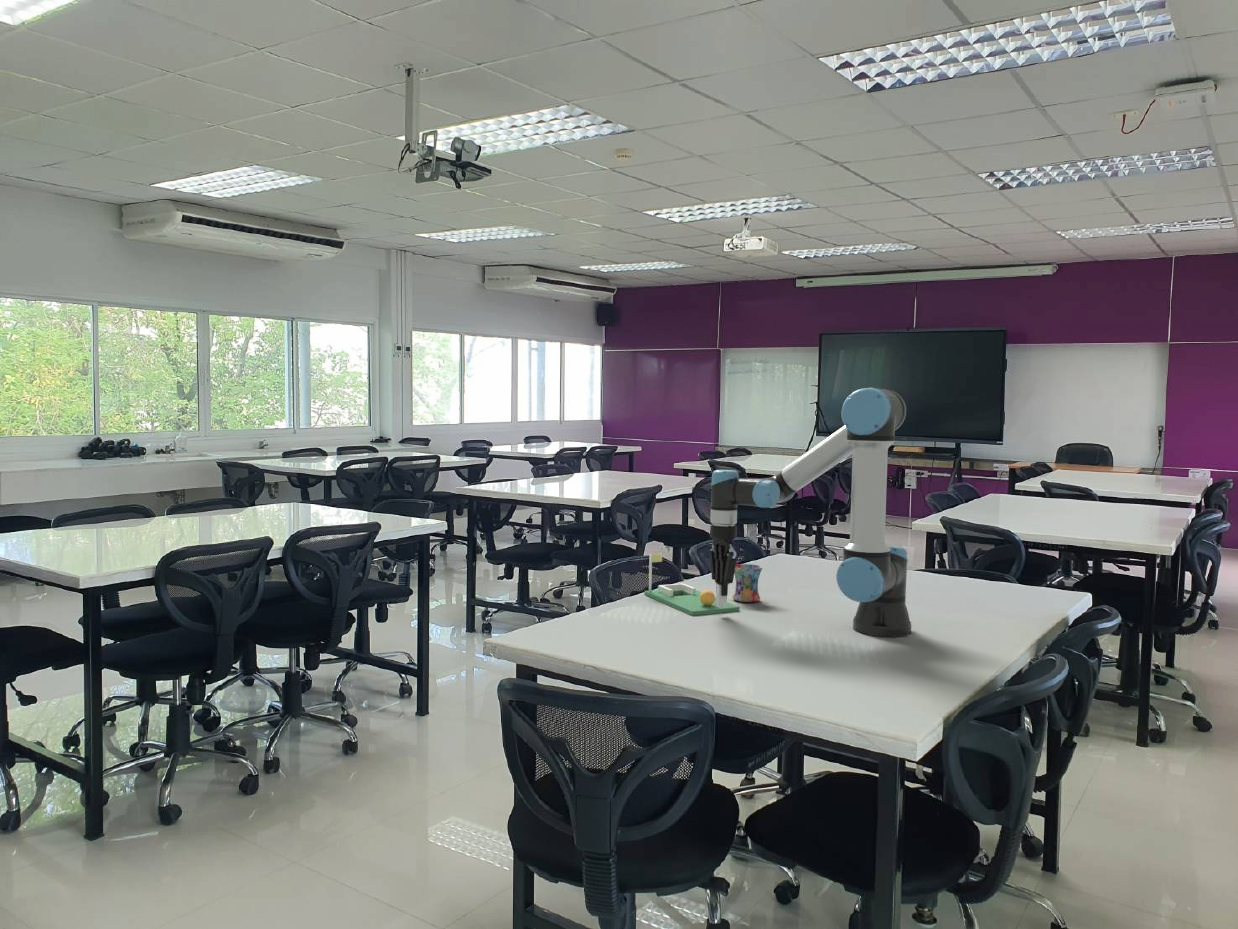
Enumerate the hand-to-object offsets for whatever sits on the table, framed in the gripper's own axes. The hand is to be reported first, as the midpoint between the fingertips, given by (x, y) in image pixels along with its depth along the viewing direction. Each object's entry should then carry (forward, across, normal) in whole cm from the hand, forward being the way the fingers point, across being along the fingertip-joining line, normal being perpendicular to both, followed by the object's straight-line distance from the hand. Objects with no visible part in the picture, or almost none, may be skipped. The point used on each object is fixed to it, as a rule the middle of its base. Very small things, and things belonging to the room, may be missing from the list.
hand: (721, 606), depth 247 cm
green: (+3, +18, 0) cm, 18 cm away
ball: (-1, +8, 0) cm, 8 cm away
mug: (+3, +15, -19) cm, 24 cm away
